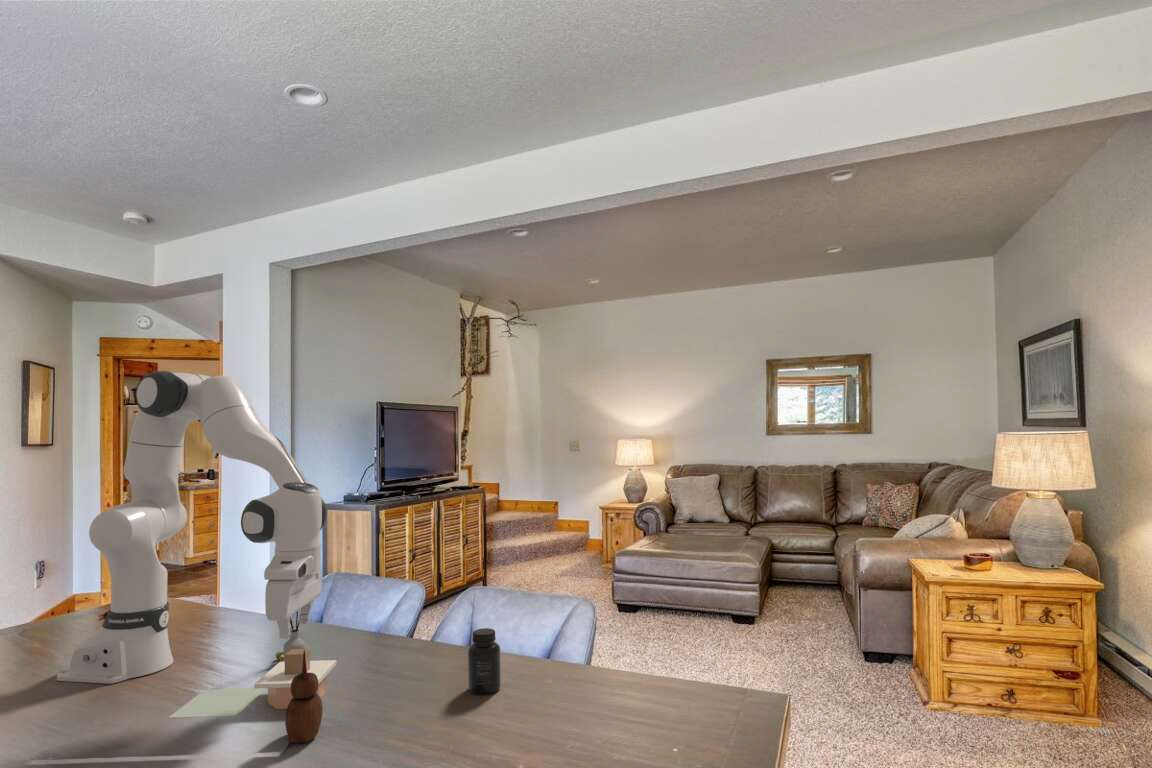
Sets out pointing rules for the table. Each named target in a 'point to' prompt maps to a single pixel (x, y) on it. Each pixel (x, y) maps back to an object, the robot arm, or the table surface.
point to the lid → (294, 669)
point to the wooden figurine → (304, 707)
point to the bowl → (288, 695)
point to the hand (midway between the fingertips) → (295, 629)
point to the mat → (218, 703)
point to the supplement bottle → (484, 663)
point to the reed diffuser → (291, 642)
